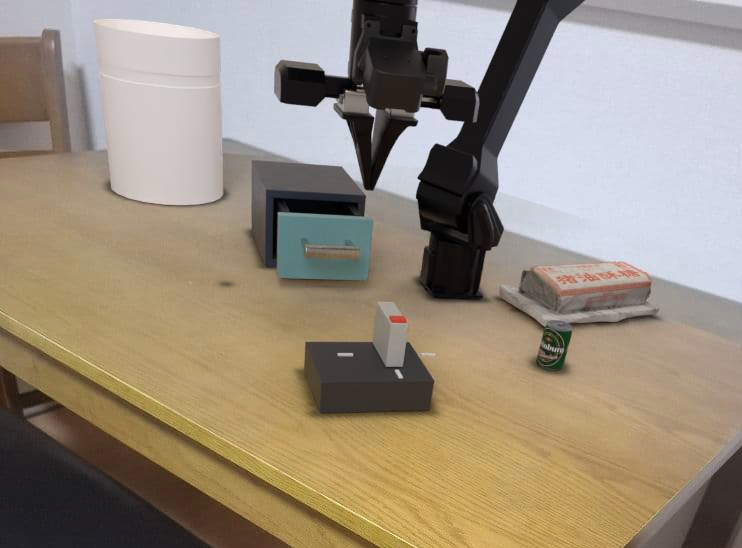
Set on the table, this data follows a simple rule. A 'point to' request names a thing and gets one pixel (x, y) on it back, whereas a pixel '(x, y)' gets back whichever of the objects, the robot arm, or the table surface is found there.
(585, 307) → the packaged product
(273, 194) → the cabinet
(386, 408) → the dial panel
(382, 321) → the dial
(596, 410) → the table surface
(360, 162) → the robot arm
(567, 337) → the beer can
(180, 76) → the canister
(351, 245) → the drawer
